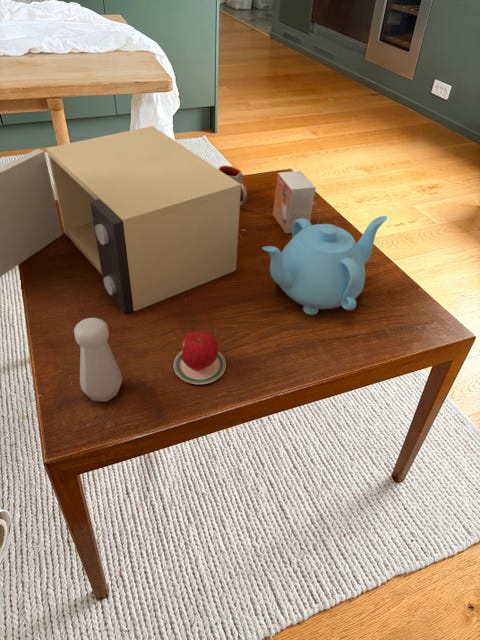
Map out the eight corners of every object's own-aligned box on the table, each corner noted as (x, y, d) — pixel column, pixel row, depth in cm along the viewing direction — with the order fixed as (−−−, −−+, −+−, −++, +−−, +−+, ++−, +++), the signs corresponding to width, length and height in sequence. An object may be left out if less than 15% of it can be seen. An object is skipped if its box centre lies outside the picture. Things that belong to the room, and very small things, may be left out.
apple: (191, 394, 72) (190, 363, 68) (164, 361, 77) (161, 330, 73) (235, 372, 76) (237, 341, 72) (207, 341, 81) (207, 311, 76)
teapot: (370, 278, 96) (388, 214, 87) (345, 341, 82) (363, 273, 73) (291, 256, 100) (300, 193, 91) (255, 312, 87) (261, 244, 77)
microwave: (121, 316, 84) (107, 224, 72) (53, 236, 101) (33, 150, 89) (236, 270, 96) (241, 184, 84) (157, 205, 113) (152, 125, 101)
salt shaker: (80, 381, 73) (64, 315, 64) (119, 372, 75) (108, 306, 66) (85, 411, 69) (69, 345, 60) (127, 401, 71) (116, 335, 62)
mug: (208, 192, 119) (209, 166, 114) (234, 188, 121) (236, 162, 117) (229, 216, 111) (230, 189, 106) (256, 211, 113) (259, 184, 109)
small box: (272, 215, 112) (276, 171, 105) (295, 213, 114) (301, 169, 107) (285, 234, 106) (290, 189, 99) (308, 231, 108) (316, 186, 101)
